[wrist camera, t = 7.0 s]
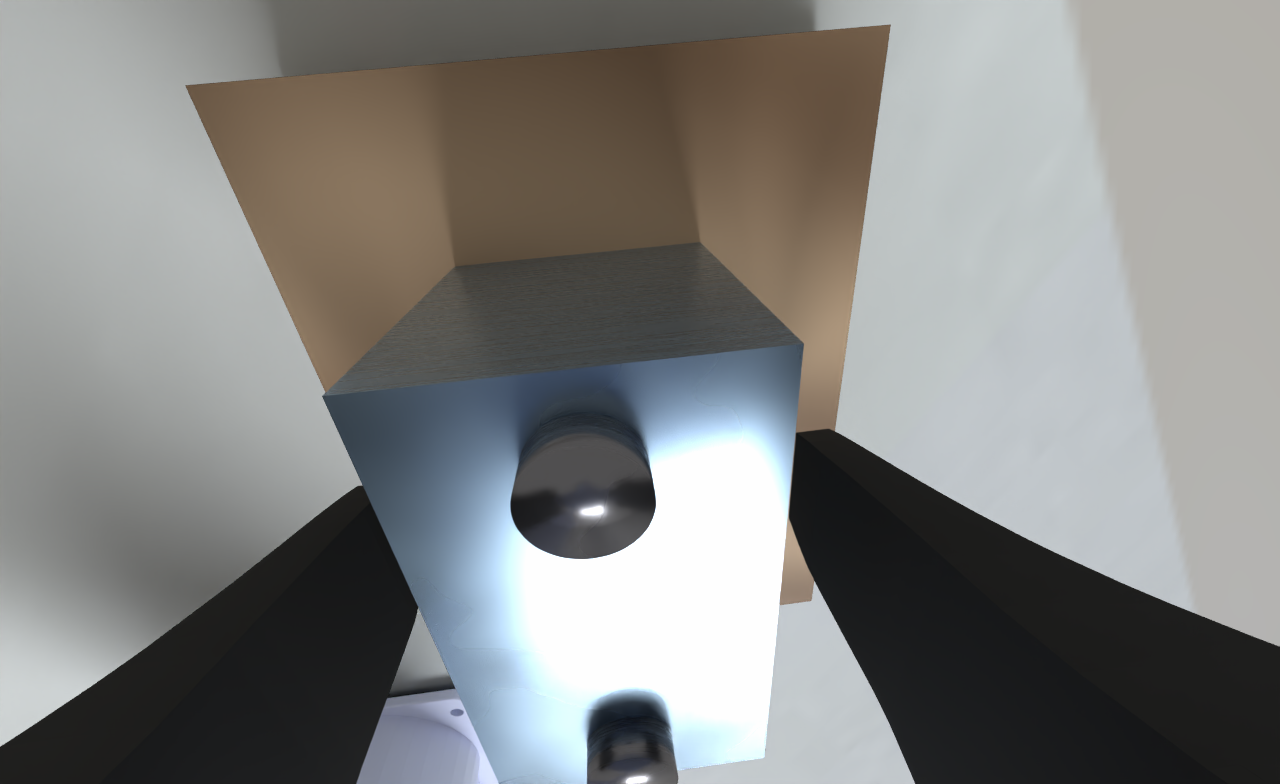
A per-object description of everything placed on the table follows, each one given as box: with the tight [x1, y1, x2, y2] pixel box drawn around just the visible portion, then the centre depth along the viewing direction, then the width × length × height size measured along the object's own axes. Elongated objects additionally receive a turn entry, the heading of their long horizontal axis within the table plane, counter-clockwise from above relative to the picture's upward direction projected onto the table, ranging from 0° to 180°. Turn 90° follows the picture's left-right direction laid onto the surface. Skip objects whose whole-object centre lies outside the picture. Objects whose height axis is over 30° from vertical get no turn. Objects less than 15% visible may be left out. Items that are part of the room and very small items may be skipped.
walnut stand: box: [186, 25, 891, 605], centre depth 12 cm, size 14×11×3 cm
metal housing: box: [322, 242, 804, 784], centre depth 8 cm, size 5×8×6 cm, turn 4°
